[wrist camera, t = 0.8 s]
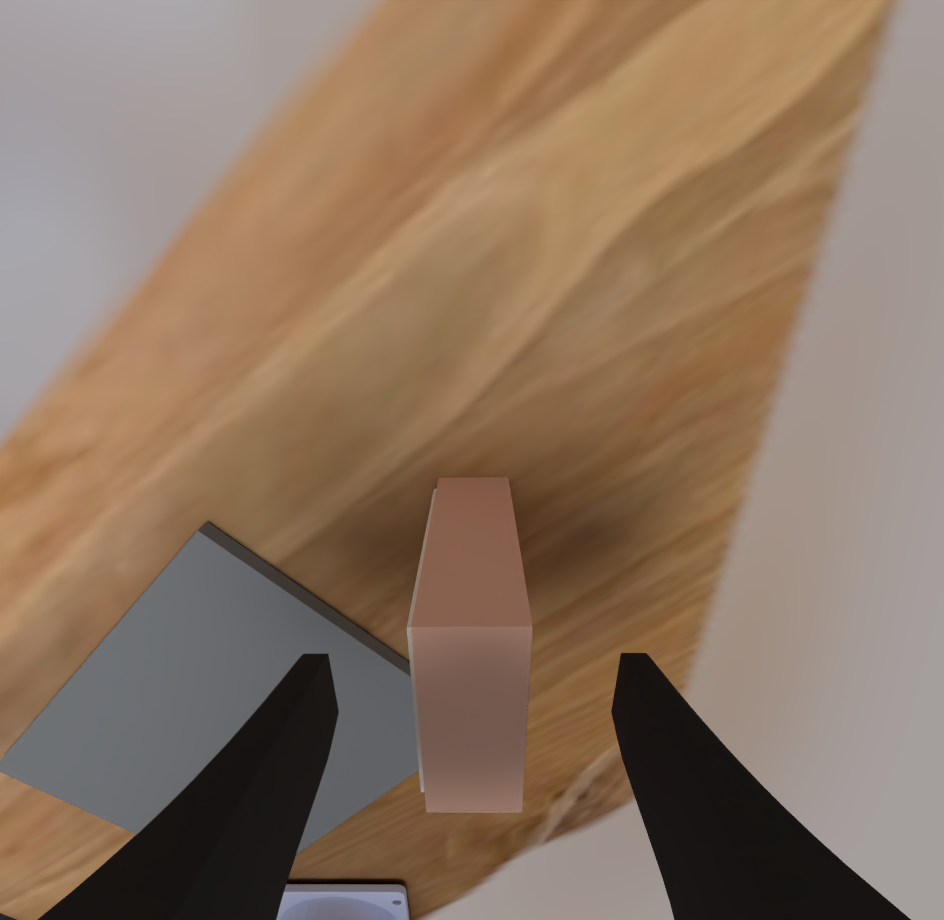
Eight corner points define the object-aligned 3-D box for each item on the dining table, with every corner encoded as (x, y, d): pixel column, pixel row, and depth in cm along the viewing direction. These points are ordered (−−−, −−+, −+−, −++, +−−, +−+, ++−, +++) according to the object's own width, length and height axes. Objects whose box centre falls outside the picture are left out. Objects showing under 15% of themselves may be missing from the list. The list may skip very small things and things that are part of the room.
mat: (207, 521, 16) (197, 530, 15) (482, 713, 20) (482, 726, 19) (6, 755, 21) (-7, 768, 20) (255, 872, 25) (250, 886, 24)
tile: (504, 613, 17) (522, 812, 11) (440, 614, 17) (420, 812, 11) (508, 476, 15) (532, 626, 9) (434, 477, 15) (403, 626, 9)
